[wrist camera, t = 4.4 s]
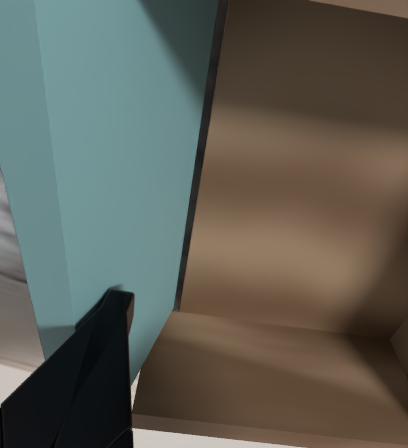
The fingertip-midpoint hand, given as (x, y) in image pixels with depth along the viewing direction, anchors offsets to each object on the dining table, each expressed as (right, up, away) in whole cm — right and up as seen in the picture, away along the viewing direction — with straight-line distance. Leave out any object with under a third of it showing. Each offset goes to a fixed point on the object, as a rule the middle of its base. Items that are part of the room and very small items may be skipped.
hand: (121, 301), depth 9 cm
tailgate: (+2, +3, +4) cm, 6 cm away
